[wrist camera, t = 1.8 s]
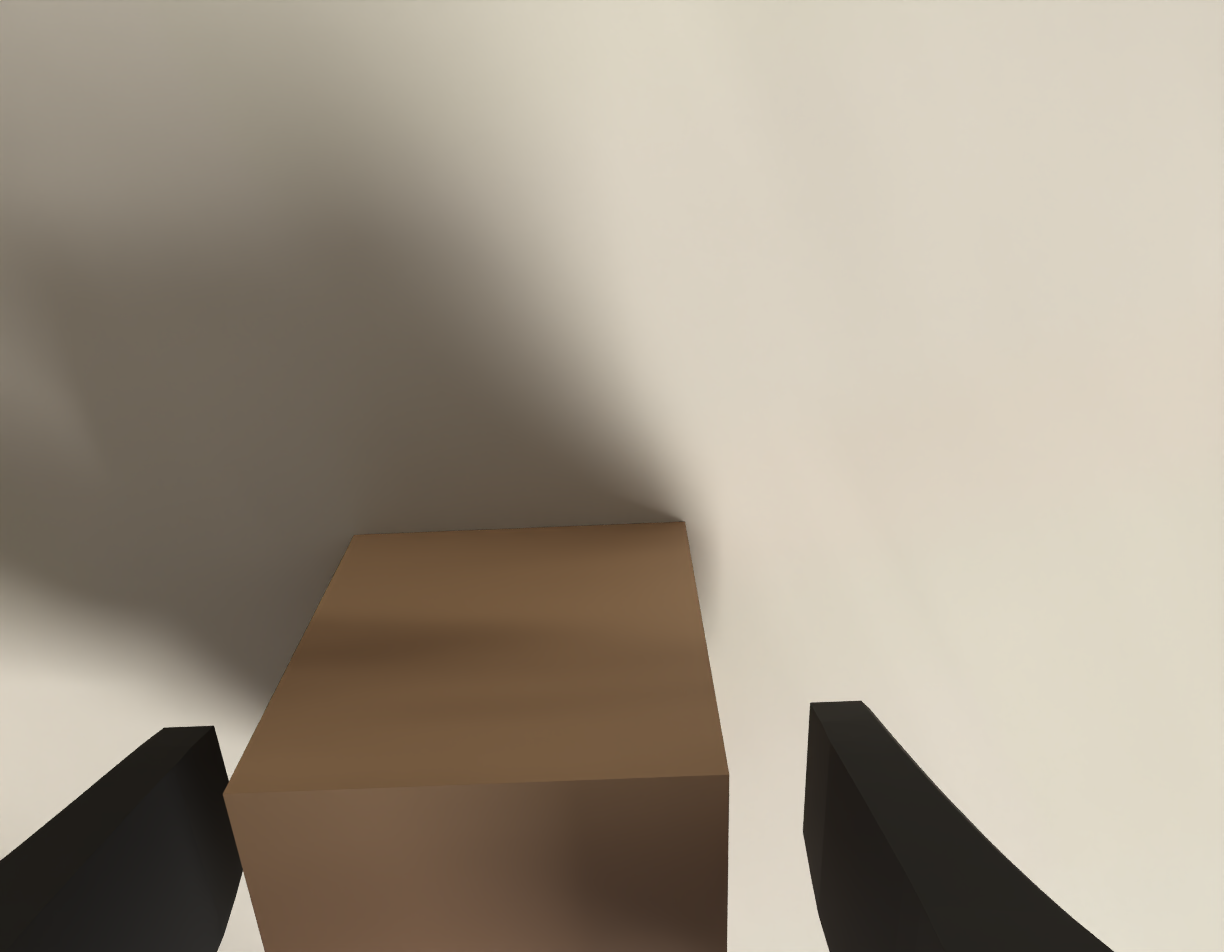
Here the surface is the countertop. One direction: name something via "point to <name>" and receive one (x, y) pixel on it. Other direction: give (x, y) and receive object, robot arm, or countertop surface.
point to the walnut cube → (493, 752)
